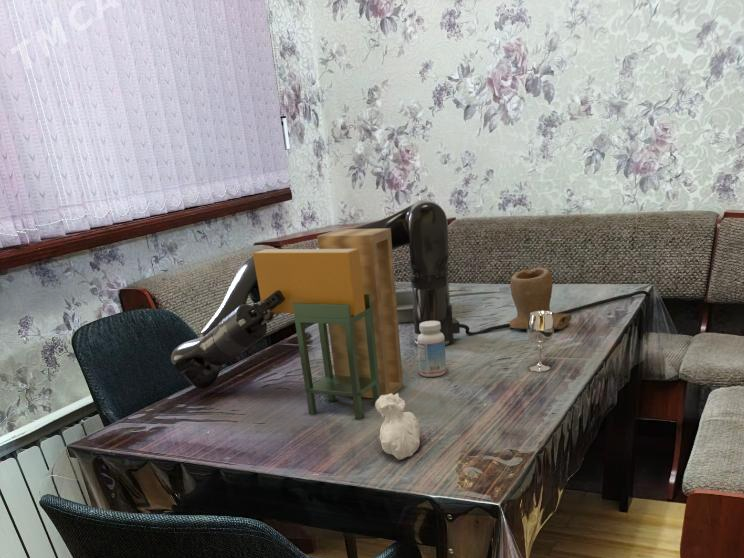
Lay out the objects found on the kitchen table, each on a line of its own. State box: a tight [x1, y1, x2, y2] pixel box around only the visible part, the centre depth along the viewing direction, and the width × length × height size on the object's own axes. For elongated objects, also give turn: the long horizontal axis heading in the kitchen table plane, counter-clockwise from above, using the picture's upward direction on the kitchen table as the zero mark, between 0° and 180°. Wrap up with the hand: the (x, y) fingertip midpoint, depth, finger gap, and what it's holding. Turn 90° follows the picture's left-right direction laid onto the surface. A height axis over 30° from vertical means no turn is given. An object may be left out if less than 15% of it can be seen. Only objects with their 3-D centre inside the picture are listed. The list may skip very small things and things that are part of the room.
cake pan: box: [396, 289, 414, 324], centre depth 209 cm, size 25×25×4 cm
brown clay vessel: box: [508, 267, 572, 330], centre depth 181 cm, size 15×12×15 cm
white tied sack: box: [374, 392, 421, 461], centre depth 122 cm, size 12×8×11 cm
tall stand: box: [316, 228, 404, 399], centre depth 145 cm, size 12×8×32 cm, turn 64°
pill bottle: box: [417, 321, 447, 378], centre depth 157 cm, size 6×6×11 cm
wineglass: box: [526, 310, 555, 372], centre depth 154 cm, size 6×6×12 cm
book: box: [252, 248, 365, 316], centre depth 134 cm, size 21×4×11 cm, turn 64°
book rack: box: [293, 294, 381, 420], centre depth 139 cm, size 12×9×22 cm
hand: (291, 290), depth 137 cm, fingers open, 6 cm apart
